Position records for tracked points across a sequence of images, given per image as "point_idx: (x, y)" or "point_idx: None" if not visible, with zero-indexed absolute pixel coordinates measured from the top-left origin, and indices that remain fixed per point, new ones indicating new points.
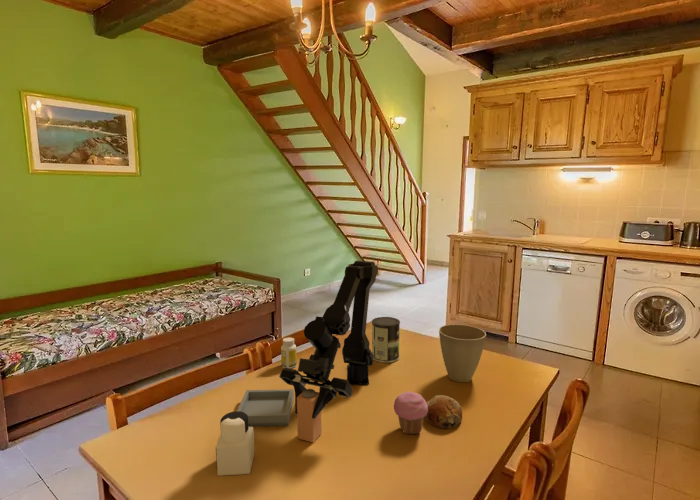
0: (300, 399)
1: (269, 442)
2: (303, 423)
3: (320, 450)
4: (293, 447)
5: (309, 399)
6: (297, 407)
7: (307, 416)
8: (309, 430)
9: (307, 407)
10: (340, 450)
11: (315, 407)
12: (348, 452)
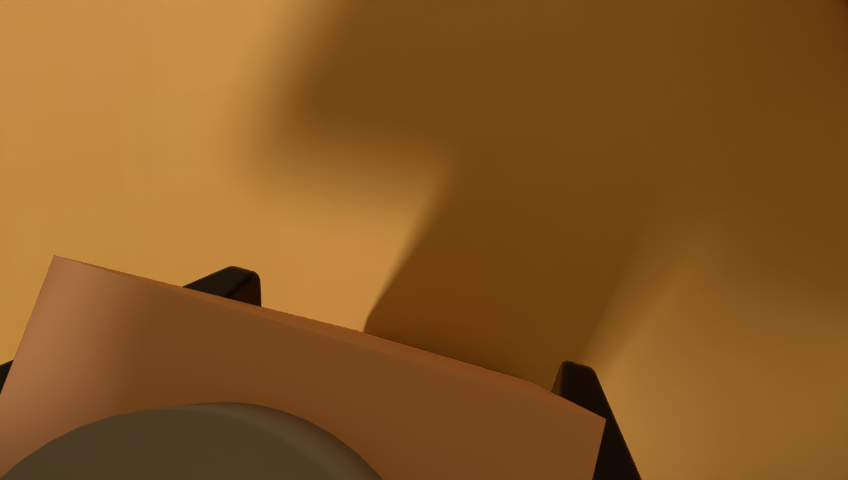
0: (461, 378)
1: (812, 293)
2: (443, 358)
3: (277, 241)
4: (535, 248)
5: (153, 341)
6: (554, 395)
7: (352, 333)
8: (371, 336)
9: (296, 321)
10: (106, 265)
11: None
12: (40, 248)
